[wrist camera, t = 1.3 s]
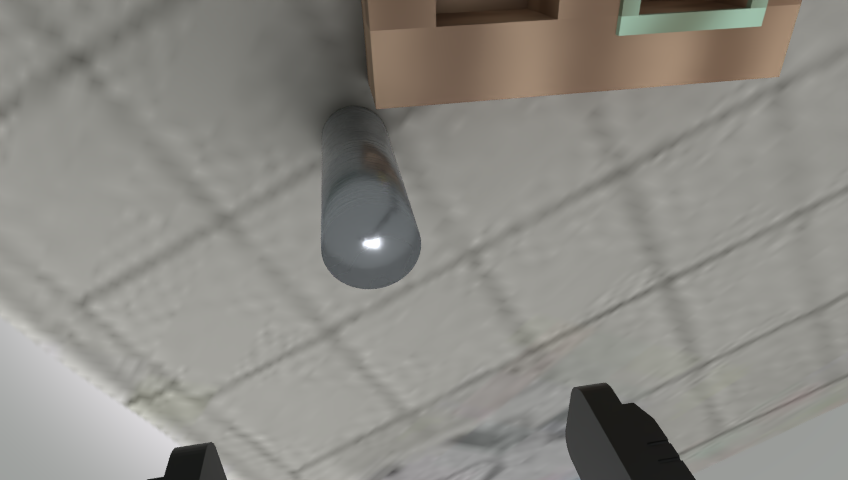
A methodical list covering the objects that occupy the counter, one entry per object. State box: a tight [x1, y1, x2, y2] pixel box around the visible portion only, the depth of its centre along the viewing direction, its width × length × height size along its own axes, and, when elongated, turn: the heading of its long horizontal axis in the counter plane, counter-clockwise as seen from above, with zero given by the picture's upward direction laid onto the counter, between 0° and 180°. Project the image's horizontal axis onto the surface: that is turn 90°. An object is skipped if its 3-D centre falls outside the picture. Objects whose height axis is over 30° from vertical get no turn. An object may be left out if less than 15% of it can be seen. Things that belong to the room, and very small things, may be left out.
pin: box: [321, 106, 421, 289], centre depth 24 cm, size 4×4×12 cm
